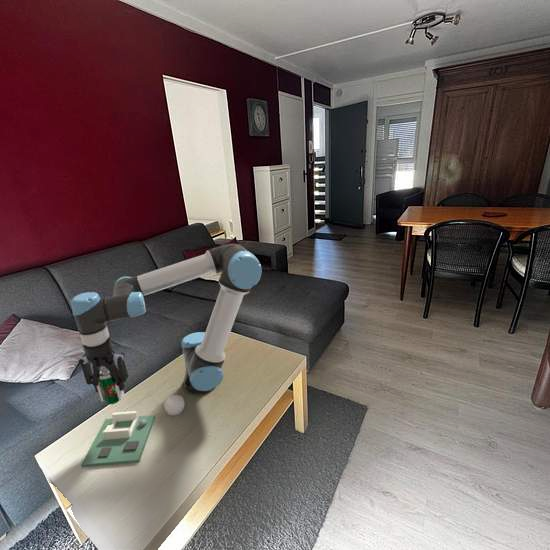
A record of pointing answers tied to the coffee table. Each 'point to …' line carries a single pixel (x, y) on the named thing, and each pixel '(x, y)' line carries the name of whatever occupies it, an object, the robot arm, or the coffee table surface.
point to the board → (120, 440)
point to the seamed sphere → (174, 405)
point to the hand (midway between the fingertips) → (113, 397)
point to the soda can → (108, 386)
